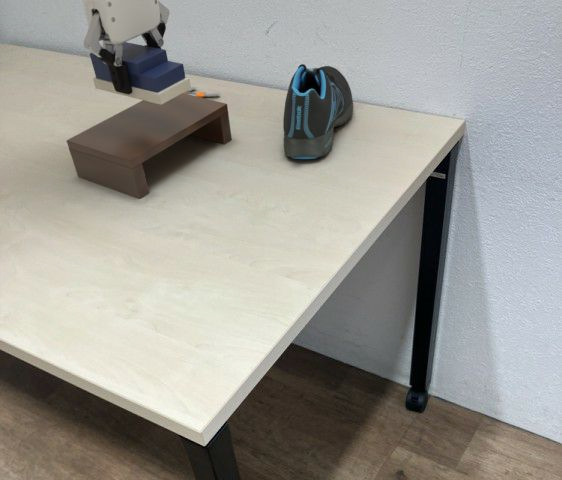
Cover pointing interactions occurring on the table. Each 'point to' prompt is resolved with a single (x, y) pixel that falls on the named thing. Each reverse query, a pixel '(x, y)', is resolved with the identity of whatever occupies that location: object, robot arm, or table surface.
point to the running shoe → (315, 111)
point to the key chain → (201, 93)
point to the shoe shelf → (144, 139)
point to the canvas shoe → (145, 74)
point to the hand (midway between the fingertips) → (141, 82)
